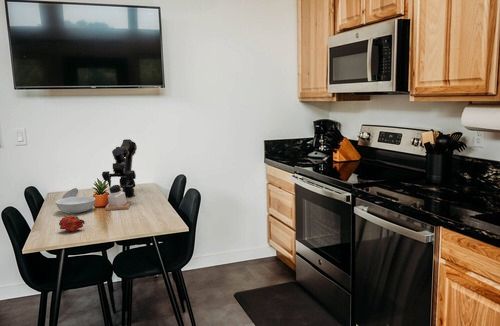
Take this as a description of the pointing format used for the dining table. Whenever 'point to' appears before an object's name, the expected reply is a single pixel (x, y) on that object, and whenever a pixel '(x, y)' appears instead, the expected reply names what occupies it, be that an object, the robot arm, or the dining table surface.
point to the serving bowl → (75, 204)
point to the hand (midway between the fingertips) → (117, 187)
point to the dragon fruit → (71, 223)
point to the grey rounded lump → (71, 193)
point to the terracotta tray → (119, 207)
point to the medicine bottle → (116, 196)
